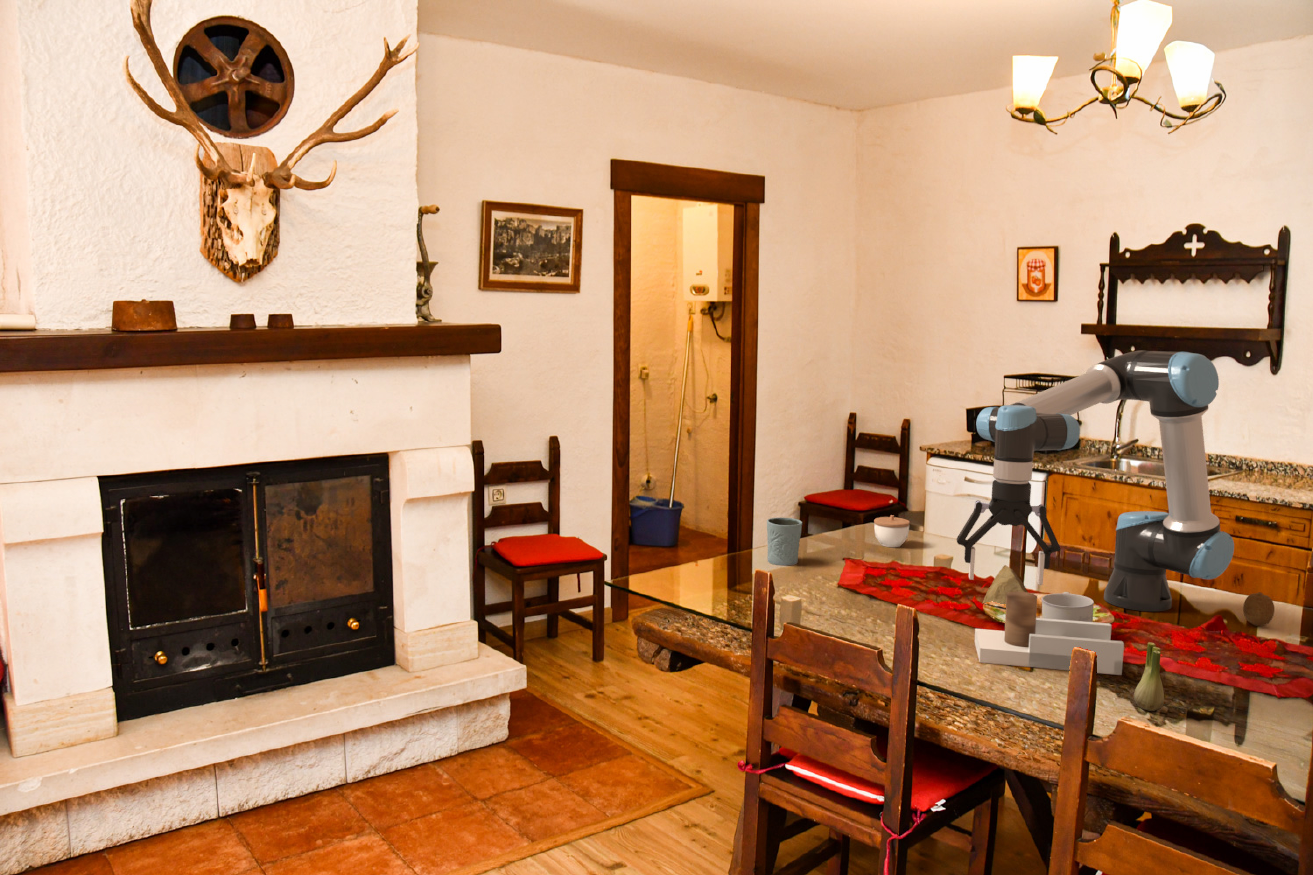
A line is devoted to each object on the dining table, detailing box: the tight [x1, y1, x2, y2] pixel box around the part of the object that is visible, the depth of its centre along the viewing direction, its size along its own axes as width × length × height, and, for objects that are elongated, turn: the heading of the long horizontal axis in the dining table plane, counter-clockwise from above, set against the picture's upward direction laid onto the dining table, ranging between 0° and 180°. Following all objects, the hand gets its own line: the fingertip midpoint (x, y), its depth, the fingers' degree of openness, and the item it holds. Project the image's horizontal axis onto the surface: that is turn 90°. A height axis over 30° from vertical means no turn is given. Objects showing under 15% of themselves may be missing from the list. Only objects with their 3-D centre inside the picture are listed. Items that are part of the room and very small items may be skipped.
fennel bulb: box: [1133, 642, 1165, 712], centre depth 177 cm, size 6×5×12 cm
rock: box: [982, 565, 1029, 604], centre depth 237 cm, size 11×9×10 cm
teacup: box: [1041, 591, 1095, 622], centre depth 220 cm, size 14×11×8 cm
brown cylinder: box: [1004, 591, 1038, 647], centre depth 203 cm, size 6×6×10 cm
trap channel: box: [974, 617, 1125, 676], centre depth 202 cm, size 27×13×6 cm, turn 76°
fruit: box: [1242, 592, 1275, 627], centre depth 225 cm, size 6×6×8 cm
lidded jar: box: [873, 514, 911, 548], centre depth 300 cm, size 11×11×9 cm
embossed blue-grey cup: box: [766, 516, 803, 567], centre depth 278 cm, size 10×10×12 cm
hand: (1005, 580), depth 203 cm, fingers open, 13 cm apart
